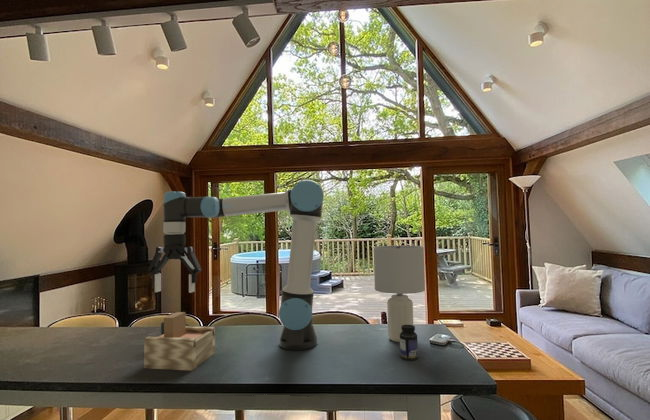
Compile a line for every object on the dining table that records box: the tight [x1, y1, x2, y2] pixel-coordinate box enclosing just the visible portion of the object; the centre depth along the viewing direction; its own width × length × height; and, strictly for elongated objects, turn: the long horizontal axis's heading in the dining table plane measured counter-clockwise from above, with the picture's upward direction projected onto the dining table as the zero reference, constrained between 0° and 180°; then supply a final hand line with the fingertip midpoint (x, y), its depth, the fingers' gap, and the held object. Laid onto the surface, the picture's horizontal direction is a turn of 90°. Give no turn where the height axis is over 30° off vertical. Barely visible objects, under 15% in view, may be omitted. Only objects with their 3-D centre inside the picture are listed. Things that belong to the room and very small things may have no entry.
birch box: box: [143, 325, 216, 371], centre depth 129 cm, size 18×16×10 cm
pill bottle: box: [399, 324, 419, 361], centre depth 127 cm, size 6×6×11 cm
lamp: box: [373, 244, 426, 343], centre depth 148 cm, size 20×20×39 cm
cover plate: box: [158, 311, 206, 338], centre depth 129 cm, size 16×14×9 cm
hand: (174, 291), depth 130 cm, fingers open, 13 cm apart
